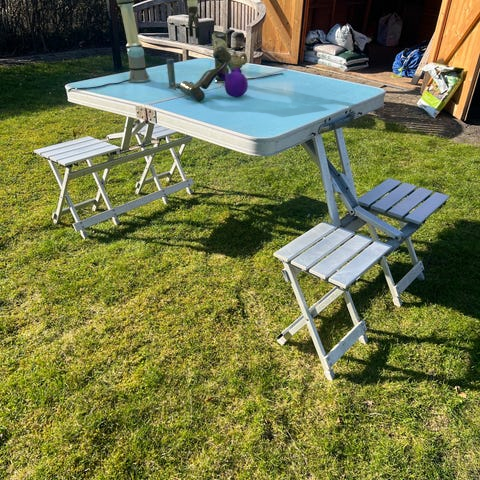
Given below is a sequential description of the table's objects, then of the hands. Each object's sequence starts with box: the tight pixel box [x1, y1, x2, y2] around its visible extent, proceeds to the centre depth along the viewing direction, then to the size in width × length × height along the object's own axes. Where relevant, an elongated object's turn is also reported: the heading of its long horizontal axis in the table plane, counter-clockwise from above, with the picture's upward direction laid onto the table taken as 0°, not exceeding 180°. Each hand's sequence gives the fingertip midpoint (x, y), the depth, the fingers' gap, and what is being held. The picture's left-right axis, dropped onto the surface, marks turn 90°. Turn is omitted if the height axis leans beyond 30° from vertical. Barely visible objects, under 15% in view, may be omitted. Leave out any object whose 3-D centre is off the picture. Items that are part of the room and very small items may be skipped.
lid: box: [165, 58, 175, 64], centre depth 308 cm, size 5×5×2 cm
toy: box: [217, 68, 249, 99], centre depth 288 cm, size 16×18×27 cm
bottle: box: [166, 62, 176, 89], centre depth 313 cm, size 5×5×18 cm
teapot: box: [228, 50, 248, 71], centre depth 366 cm, size 21×12×15 cm, turn 120°
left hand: (194, 37), depth 346 cm, fingers open, 13 cm apart
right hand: (178, 83), depth 301 cm, fingers open, 8 cm apart
